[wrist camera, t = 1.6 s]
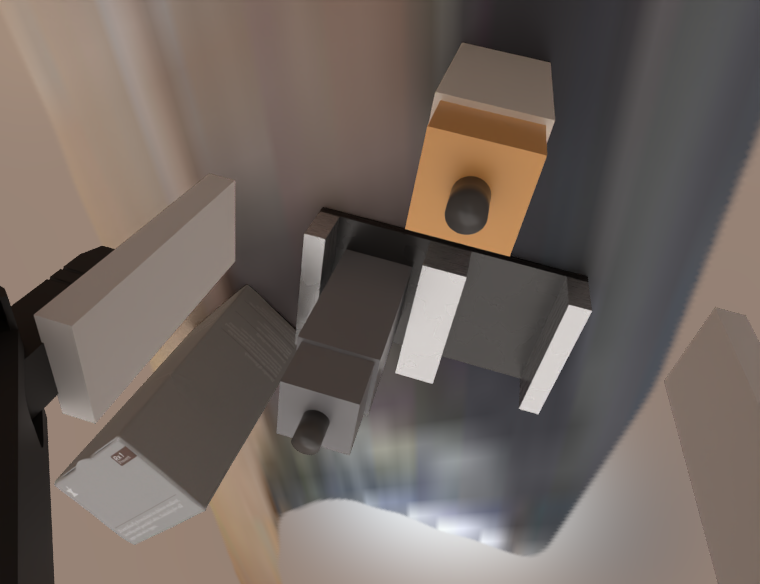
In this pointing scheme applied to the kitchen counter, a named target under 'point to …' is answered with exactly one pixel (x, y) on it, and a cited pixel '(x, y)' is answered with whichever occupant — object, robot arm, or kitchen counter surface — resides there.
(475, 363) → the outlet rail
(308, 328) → the twin plug
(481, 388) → the kitchen counter surface
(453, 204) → the plug
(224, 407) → the skincare box
